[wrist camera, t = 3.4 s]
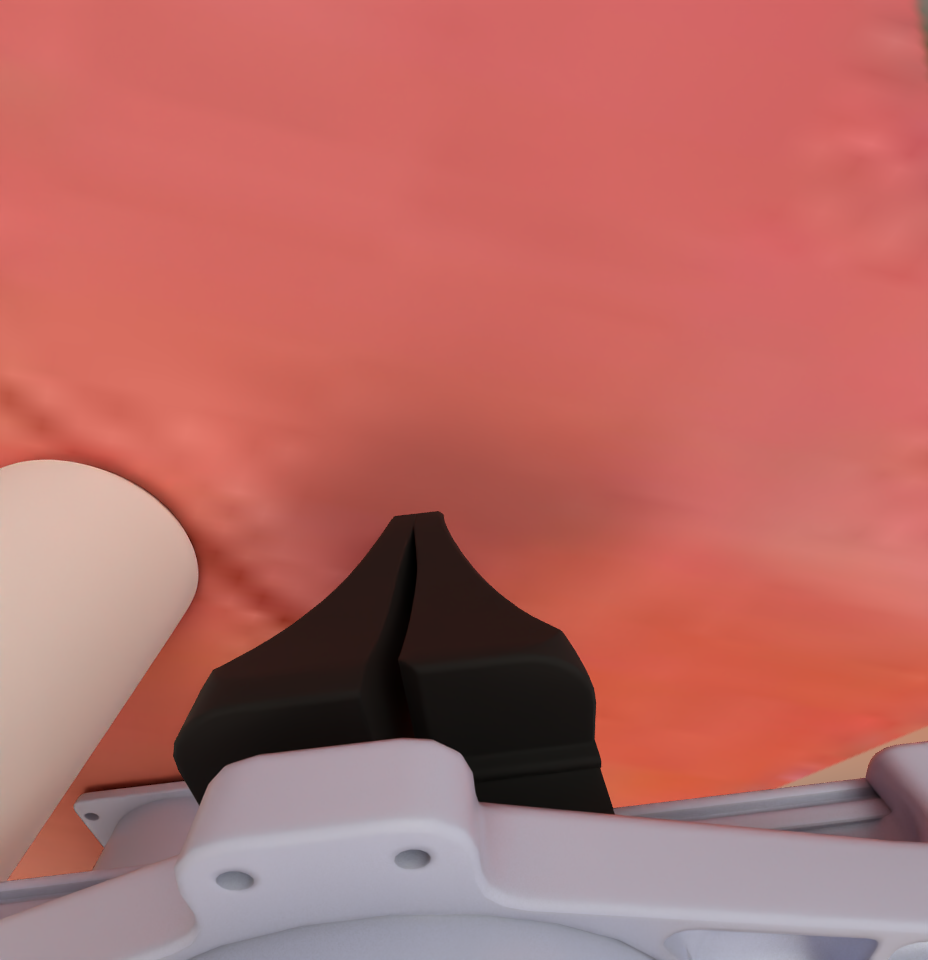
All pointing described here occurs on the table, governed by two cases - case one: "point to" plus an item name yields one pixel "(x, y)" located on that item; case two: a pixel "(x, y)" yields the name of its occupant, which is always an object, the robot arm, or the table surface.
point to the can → (75, 624)
